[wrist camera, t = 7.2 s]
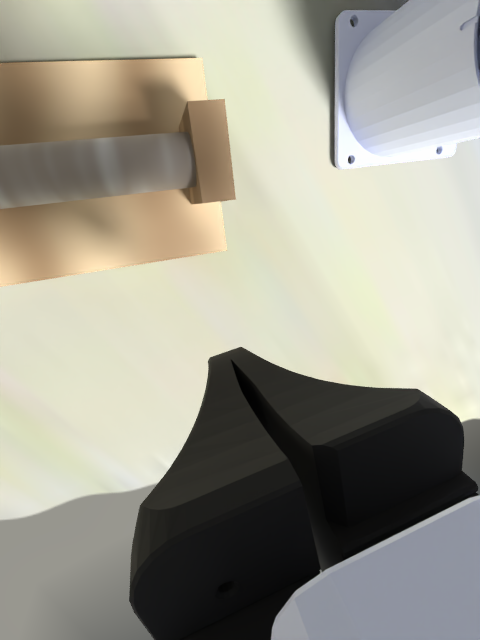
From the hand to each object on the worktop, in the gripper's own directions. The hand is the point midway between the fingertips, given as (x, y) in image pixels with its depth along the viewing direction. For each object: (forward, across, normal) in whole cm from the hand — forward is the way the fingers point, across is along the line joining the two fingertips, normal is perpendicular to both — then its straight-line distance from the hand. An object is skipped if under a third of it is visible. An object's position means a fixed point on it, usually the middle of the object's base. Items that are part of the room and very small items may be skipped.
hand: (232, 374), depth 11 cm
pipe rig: (+10, +6, -9) cm, 15 cm away
